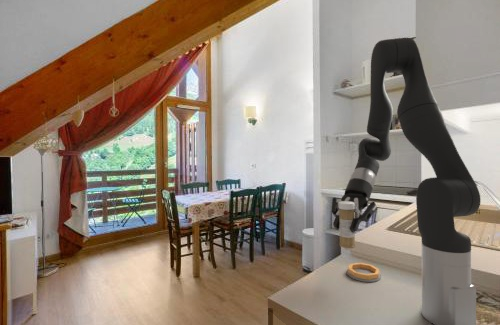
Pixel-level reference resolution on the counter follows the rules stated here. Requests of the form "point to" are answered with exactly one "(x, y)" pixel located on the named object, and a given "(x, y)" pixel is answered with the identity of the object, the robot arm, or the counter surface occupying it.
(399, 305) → the counter surface
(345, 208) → the spice jar
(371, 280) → the orange rimmed grey dish
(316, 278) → the counter surface
